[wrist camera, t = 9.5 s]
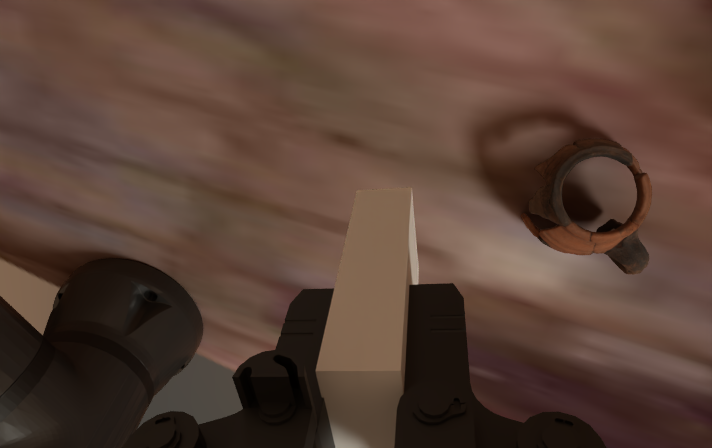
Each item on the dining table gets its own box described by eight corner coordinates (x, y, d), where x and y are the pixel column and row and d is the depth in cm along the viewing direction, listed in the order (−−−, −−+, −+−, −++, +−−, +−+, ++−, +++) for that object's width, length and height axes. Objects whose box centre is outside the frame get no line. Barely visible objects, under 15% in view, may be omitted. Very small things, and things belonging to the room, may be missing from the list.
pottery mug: (487, 201, 49) (513, 201, 40) (562, 120, 48) (604, 103, 40) (587, 294, 49) (634, 312, 41) (662, 214, 49) (724, 217, 40)
